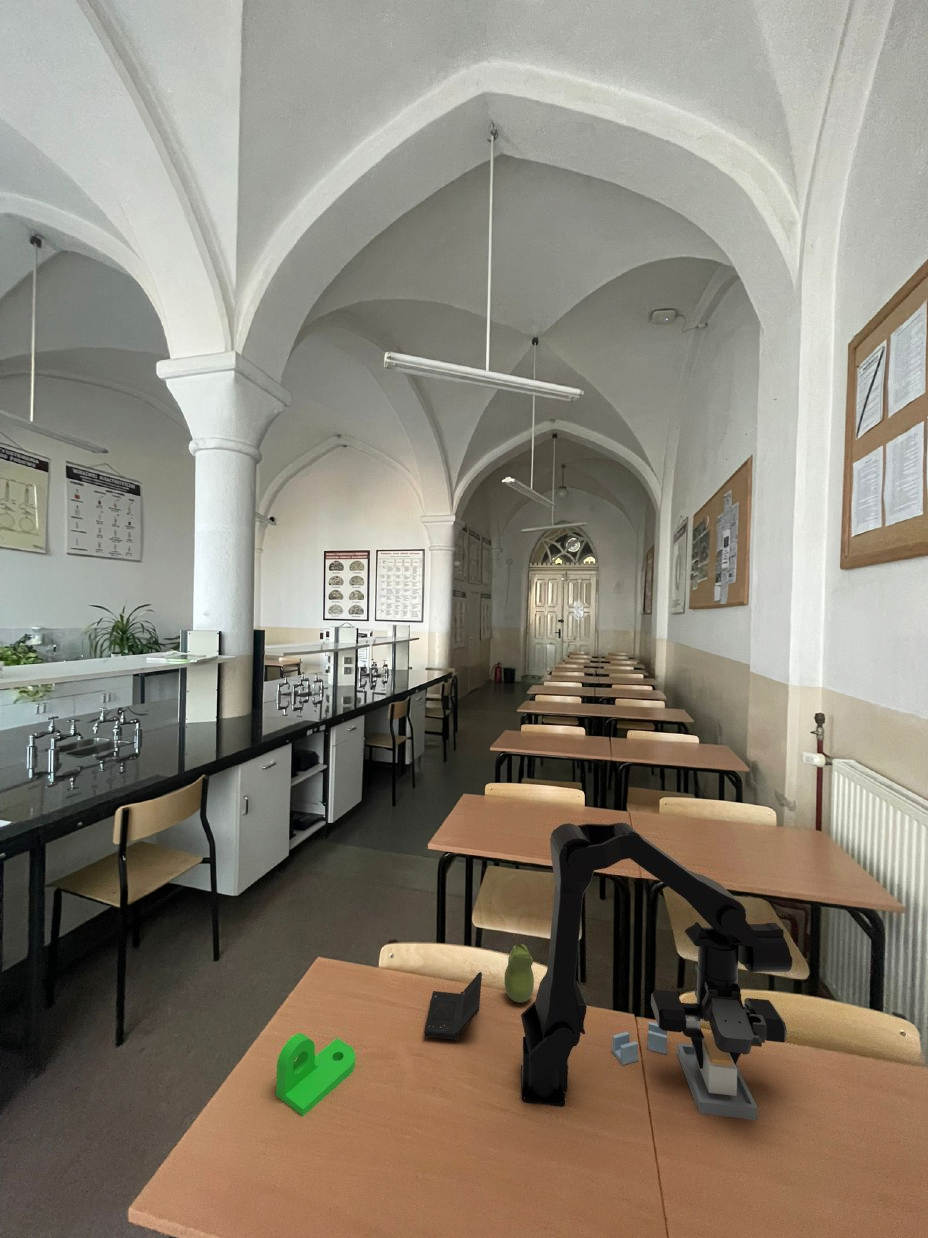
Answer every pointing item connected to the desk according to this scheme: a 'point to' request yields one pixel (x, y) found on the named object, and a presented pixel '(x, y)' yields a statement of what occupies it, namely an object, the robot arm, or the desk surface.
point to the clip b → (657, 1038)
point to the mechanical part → (311, 1071)
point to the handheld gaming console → (453, 1011)
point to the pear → (519, 974)
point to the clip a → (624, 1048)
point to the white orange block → (717, 1068)
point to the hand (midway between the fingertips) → (714, 1068)
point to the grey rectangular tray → (714, 1102)
